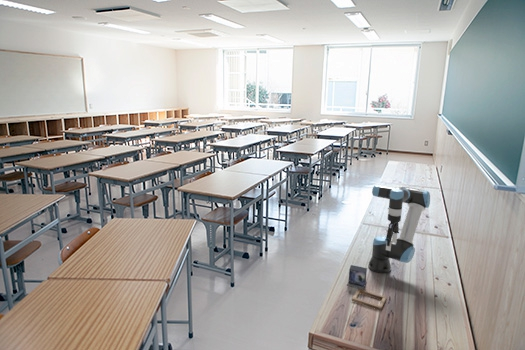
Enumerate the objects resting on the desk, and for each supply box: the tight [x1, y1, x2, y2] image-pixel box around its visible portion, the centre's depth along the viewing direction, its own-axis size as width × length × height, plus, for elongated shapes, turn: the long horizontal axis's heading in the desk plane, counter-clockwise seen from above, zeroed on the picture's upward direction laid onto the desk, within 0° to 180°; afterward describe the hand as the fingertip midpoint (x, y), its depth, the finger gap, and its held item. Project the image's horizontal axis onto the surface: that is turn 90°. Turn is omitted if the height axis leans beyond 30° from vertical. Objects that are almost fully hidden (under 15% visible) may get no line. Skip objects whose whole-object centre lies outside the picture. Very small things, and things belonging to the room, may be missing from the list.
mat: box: [346, 281, 368, 290], centre depth 221 cm, size 10×10×1 cm
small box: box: [347, 264, 368, 288], centre depth 220 cm, size 11×6×10 cm, turn 66°
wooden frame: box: [351, 288, 387, 312], centre depth 203 cm, size 13×17×2 cm
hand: (391, 246), depth 212 cm, fingers open, 13 cm apart
